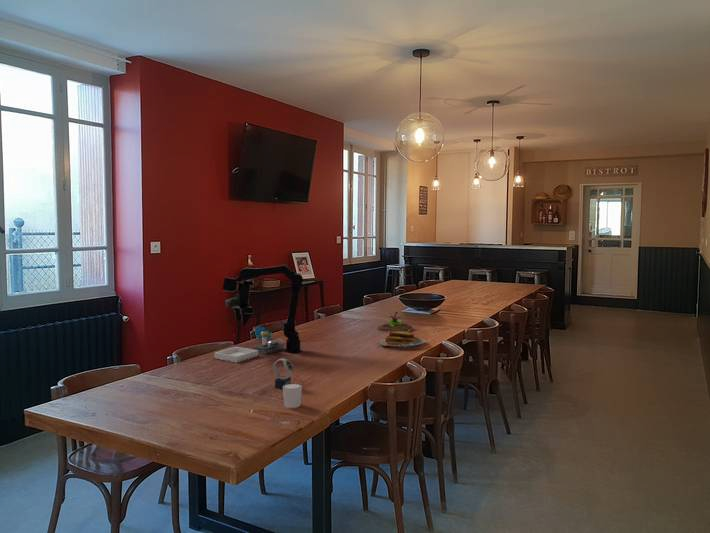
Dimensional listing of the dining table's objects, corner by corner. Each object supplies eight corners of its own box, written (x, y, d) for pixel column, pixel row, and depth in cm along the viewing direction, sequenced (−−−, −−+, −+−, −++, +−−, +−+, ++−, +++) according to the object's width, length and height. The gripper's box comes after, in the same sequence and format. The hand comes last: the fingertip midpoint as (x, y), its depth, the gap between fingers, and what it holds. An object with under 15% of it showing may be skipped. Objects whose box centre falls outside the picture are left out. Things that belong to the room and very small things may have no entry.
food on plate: (384, 352, 273) (384, 339, 273) (373, 341, 298) (373, 329, 297) (432, 349, 278) (432, 337, 277) (417, 339, 302) (417, 328, 302)
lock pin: (269, 351, 272) (269, 332, 272) (265, 353, 269) (265, 333, 269) (264, 350, 274) (264, 331, 274) (259, 352, 271) (259, 332, 270)
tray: (258, 356, 263) (258, 350, 263) (237, 363, 250) (237, 356, 250) (236, 352, 270) (235, 346, 270) (214, 358, 258) (214, 352, 258)
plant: (417, 329, 332) (417, 311, 331) (402, 335, 315) (402, 316, 314) (388, 326, 342) (388, 308, 341) (373, 331, 326) (373, 313, 325)
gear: (259, 340, 291) (253, 325, 296) (254, 346, 294) (247, 332, 299) (275, 339, 299) (269, 325, 304) (270, 346, 302) (264, 332, 307)
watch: (289, 389, 211) (289, 361, 210) (271, 387, 214) (270, 360, 213) (295, 385, 216) (295, 358, 216) (277, 383, 219) (277, 356, 218)
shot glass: (283, 402, 196) (283, 383, 195) (302, 401, 196) (302, 383, 196) (282, 408, 189) (282, 389, 188) (302, 408, 190) (301, 388, 189)
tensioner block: (283, 348, 278) (283, 340, 278) (265, 354, 266) (265, 346, 266) (271, 347, 282) (271, 339, 282) (253, 352, 271) (253, 344, 270)
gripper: (222, 289, 271) (219, 319, 272) (233, 295, 255) (230, 327, 256) (243, 290, 277) (240, 320, 278) (256, 296, 261) (252, 328, 262)
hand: (240, 324), depth 268 cm, fingers open, 9 cm apart
